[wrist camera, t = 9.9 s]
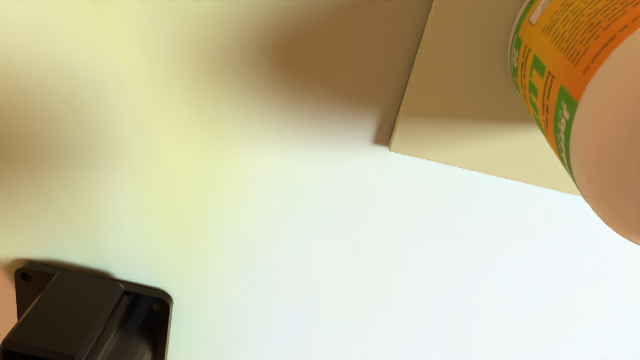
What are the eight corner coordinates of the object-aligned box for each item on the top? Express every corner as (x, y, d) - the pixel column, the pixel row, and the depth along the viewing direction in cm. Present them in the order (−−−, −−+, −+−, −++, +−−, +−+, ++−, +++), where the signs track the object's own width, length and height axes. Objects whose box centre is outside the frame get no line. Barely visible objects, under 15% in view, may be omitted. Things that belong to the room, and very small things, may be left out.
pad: (665, 208, 20) (673, 217, 19) (389, 143, 19) (389, 150, 19) (859, -103, 15) (876, -103, 14) (494, -196, 14) (498, -199, 14)
